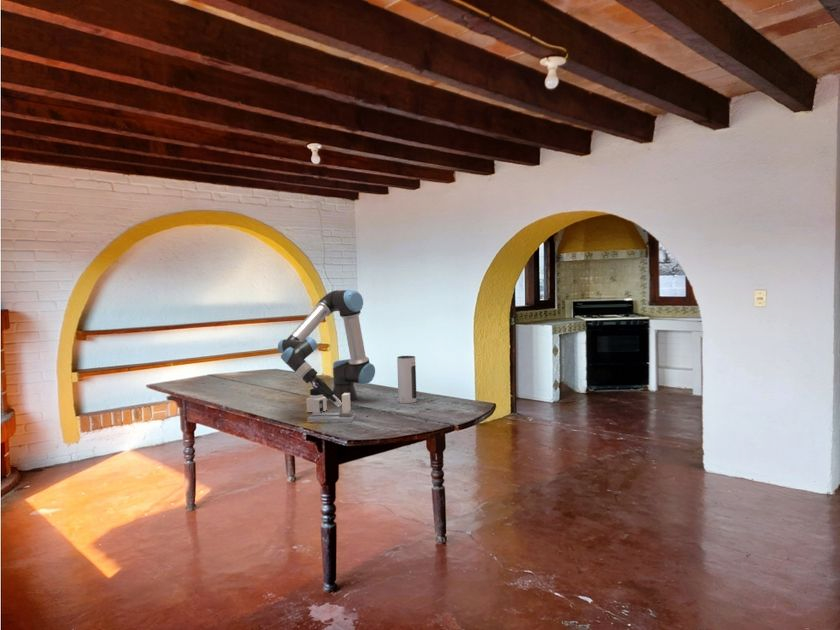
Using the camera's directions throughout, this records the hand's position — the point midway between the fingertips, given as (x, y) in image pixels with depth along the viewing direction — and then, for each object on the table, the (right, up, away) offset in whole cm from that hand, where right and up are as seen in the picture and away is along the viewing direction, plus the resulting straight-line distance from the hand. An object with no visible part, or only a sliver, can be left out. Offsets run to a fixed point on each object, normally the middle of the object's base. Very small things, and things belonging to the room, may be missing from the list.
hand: (340, 405), depth 295 cm
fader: (+3, -5, 0) cm, 5 cm away
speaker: (+32, -4, +38) cm, 50 cm away
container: (-15, -6, +19) cm, 25 cm away
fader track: (-5, -7, +1) cm, 9 cm away
